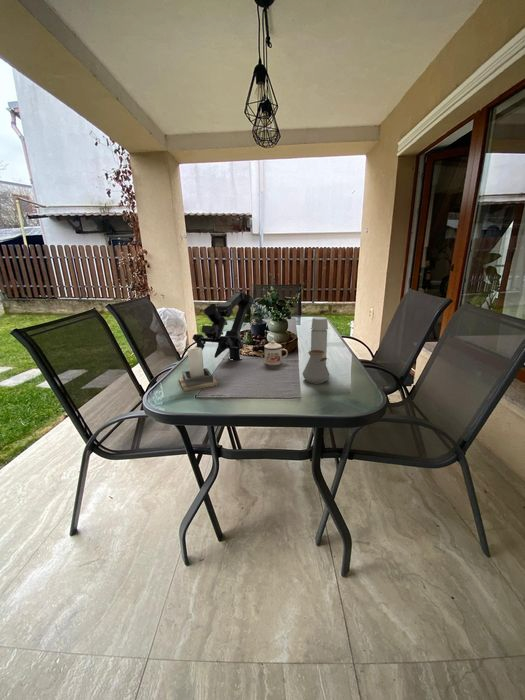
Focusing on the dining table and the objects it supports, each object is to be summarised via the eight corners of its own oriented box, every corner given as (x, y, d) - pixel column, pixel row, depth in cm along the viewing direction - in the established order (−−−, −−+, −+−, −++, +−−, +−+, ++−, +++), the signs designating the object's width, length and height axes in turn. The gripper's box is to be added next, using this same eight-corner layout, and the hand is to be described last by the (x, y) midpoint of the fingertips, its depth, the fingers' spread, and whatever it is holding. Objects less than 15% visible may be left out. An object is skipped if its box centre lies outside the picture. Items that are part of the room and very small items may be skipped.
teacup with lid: (264, 366, 144) (264, 343, 141) (264, 360, 153) (263, 339, 150) (288, 365, 144) (288, 342, 141) (286, 359, 153) (286, 338, 150)
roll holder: (179, 379, 129) (178, 371, 128) (209, 374, 134) (209, 366, 133) (184, 391, 117) (183, 382, 116) (217, 385, 122) (217, 376, 121)
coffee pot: (300, 376, 130) (300, 344, 126) (325, 375, 130) (326, 343, 126) (310, 396, 109) (311, 358, 105) (340, 395, 110) (342, 357, 106)
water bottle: (326, 373, 132) (328, 319, 125) (309, 372, 133) (310, 319, 126) (326, 367, 140) (328, 316, 133) (310, 366, 142) (311, 316, 135)
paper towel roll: (192, 377, 128) (189, 347, 124) (205, 377, 128) (203, 347, 124) (189, 383, 122) (186, 351, 119) (203, 382, 123) (200, 351, 119)
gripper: (192, 317, 134) (180, 346, 127) (227, 318, 127) (216, 349, 120) (203, 330, 143) (192, 357, 136) (237, 332, 136) (227, 361, 129)
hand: (206, 356), depth 130 cm, fingers open, 9 cm apart
